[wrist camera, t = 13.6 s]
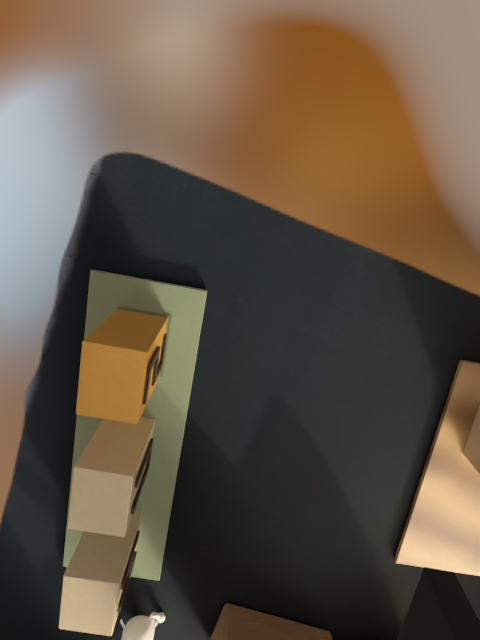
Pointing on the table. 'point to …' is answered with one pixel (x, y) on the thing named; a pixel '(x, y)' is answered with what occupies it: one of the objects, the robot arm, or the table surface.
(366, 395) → the table surface
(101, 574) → the wooden letter block
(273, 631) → the decorative block
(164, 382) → the board
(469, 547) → the back word board
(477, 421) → the tile
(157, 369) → the orange block
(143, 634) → the rabbit figurine
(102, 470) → the U tile
